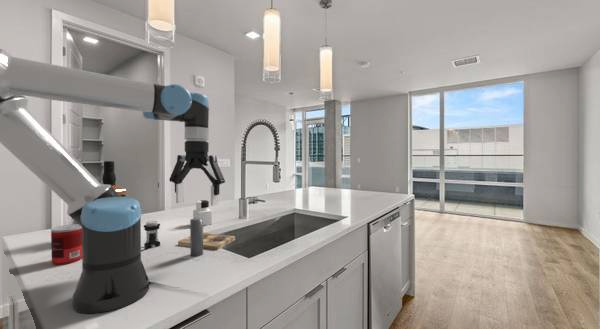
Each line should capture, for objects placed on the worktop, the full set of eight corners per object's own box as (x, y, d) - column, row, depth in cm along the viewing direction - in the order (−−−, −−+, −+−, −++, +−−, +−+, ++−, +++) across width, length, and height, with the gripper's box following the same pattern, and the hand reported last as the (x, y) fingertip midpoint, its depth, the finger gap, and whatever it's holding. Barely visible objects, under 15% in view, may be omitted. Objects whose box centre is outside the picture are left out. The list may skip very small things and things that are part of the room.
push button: (142, 254, 92) (142, 225, 92) (137, 250, 96) (137, 223, 95) (162, 249, 97) (162, 222, 97) (157, 245, 101) (157, 219, 100)
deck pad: (199, 263, 84) (199, 260, 84) (178, 260, 87) (178, 257, 87) (214, 254, 92) (214, 251, 92) (194, 252, 94) (194, 249, 94)
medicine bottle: (206, 221, 139) (206, 199, 138) (212, 224, 133) (212, 200, 133) (192, 223, 134) (192, 200, 134) (197, 226, 129) (197, 202, 128)
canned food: (87, 254, 91) (86, 223, 91) (77, 263, 84) (76, 229, 83) (59, 257, 88) (58, 225, 88) (46, 266, 81) (45, 231, 80)
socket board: (217, 252, 94) (217, 245, 94) (178, 247, 99) (178, 240, 99) (234, 242, 105) (234, 235, 105) (199, 238, 110) (199, 231, 110)
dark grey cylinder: (197, 257, 87) (197, 221, 87) (187, 255, 88) (187, 220, 88) (205, 253, 91) (205, 218, 90) (195, 251, 92) (195, 217, 92)
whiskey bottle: (107, 240, 106) (106, 161, 105) (88, 238, 109) (87, 161, 108) (129, 233, 116) (129, 161, 115) (112, 231, 119) (111, 160, 118)
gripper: (235, 141, 89) (235, 204, 89) (174, 141, 96) (174, 199, 96) (223, 139, 81) (222, 208, 82) (157, 140, 88) (158, 203, 89)
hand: (196, 203), depth 89 cm, fingers open, 13 cm apart
